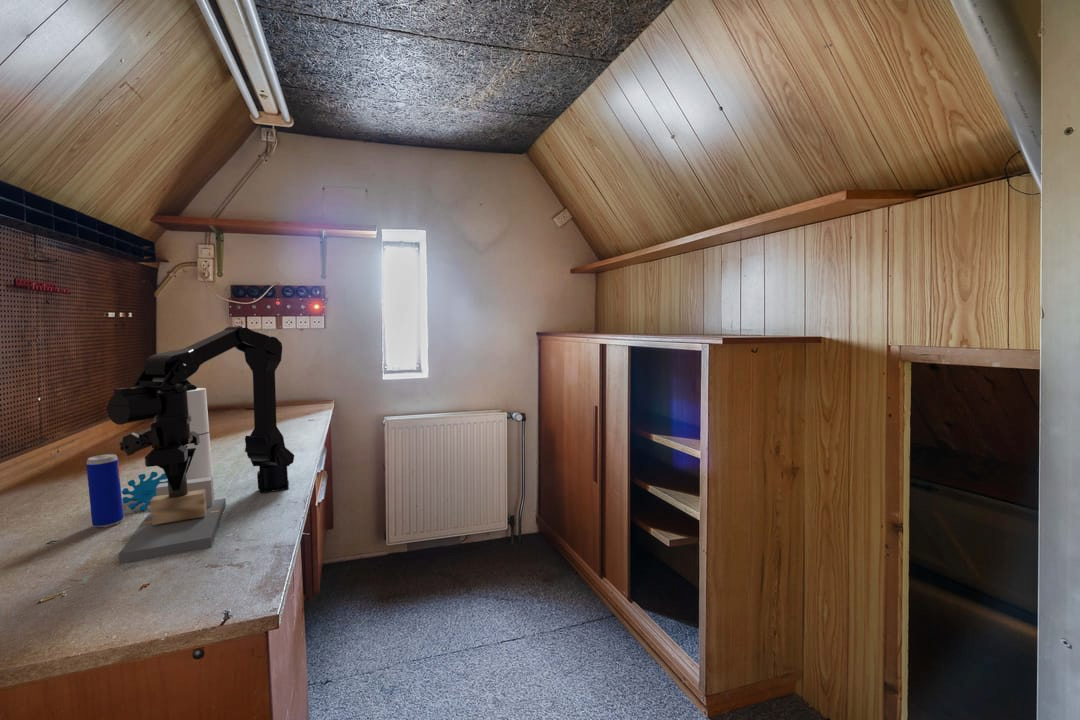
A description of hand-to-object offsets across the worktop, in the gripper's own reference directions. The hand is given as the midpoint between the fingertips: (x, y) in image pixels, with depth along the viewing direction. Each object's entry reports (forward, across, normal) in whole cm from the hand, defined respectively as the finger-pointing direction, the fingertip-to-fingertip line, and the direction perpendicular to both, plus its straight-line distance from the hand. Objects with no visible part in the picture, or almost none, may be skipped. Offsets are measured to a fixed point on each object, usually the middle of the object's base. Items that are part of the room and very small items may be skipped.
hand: (177, 487), depth 104 cm
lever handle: (+7, 0, 0) cm, 7 cm away
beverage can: (+9, -12, -15) cm, 21 cm away
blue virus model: (+9, -20, -9) cm, 24 cm away
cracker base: (+9, +1, 0) cm, 9 cm away
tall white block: (+9, -42, -3) cm, 43 cm away
